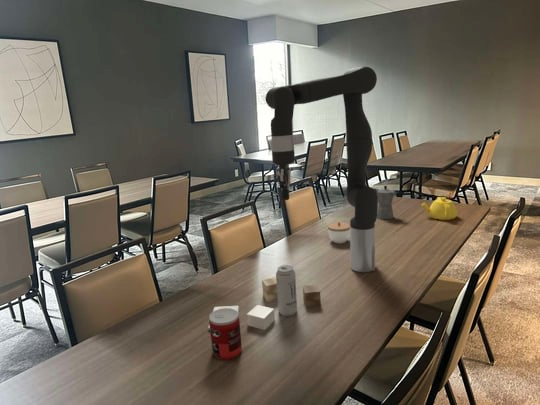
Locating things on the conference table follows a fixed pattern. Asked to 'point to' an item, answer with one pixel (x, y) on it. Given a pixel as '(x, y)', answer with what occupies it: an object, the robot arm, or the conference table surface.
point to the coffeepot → (385, 203)
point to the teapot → (441, 209)
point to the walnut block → (311, 295)
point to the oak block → (269, 289)
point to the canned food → (225, 333)
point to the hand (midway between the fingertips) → (286, 199)
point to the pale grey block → (260, 317)
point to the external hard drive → (225, 307)
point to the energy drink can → (286, 290)
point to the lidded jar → (339, 232)
